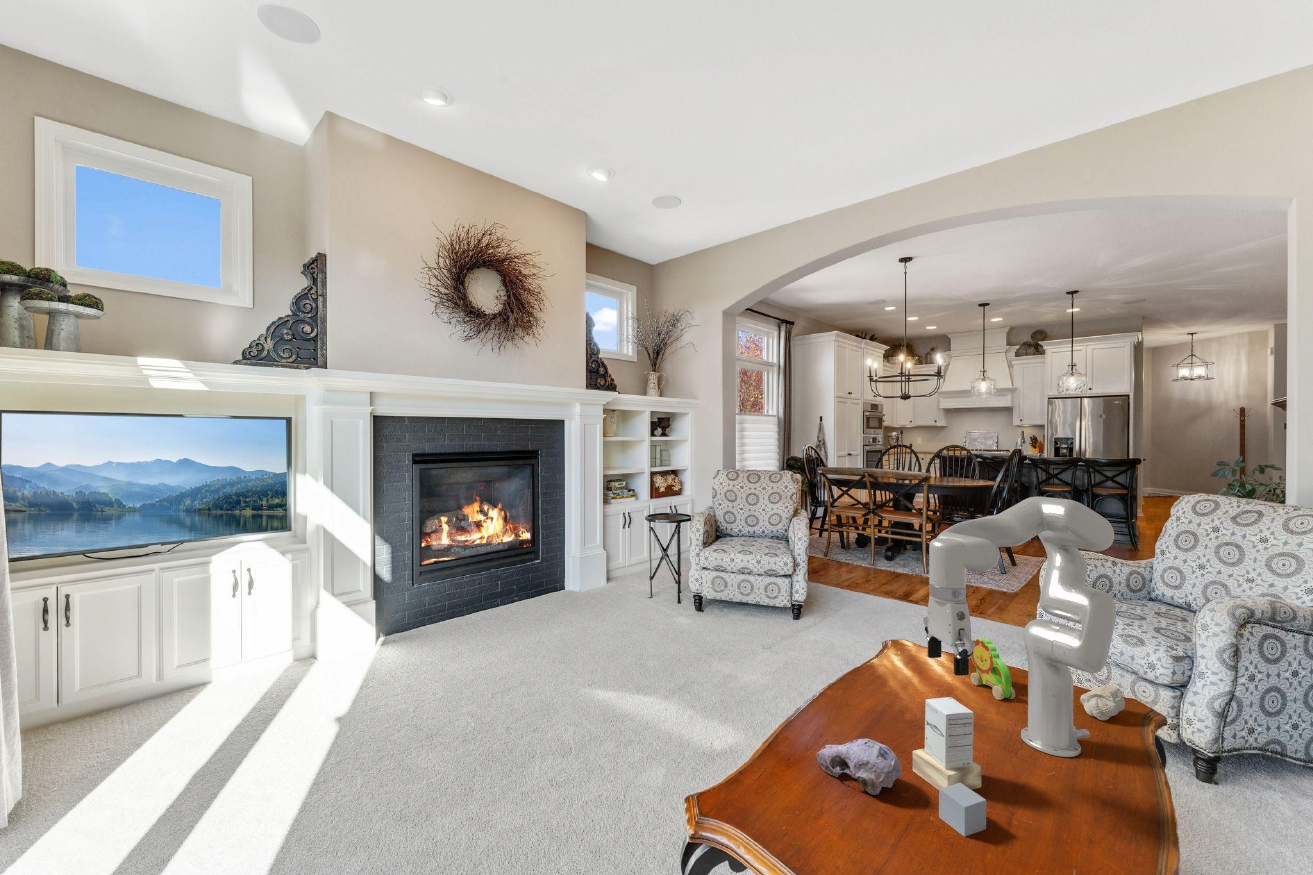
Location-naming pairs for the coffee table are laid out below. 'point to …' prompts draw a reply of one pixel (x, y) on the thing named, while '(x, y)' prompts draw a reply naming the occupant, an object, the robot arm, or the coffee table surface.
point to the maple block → (945, 772)
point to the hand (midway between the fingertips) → (947, 665)
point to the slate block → (962, 809)
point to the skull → (862, 763)
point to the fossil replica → (1103, 702)
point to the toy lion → (991, 669)
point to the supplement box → (949, 732)
